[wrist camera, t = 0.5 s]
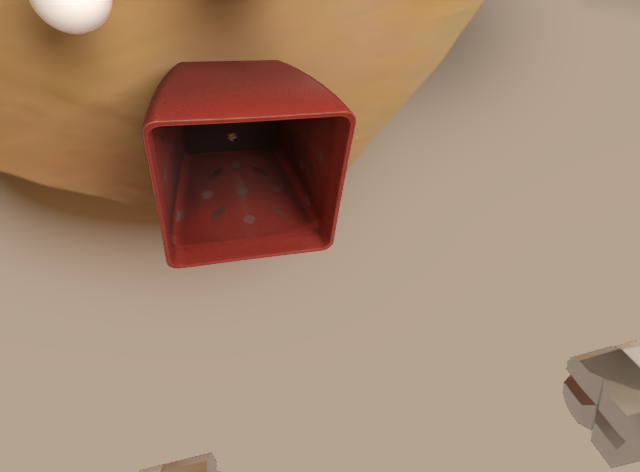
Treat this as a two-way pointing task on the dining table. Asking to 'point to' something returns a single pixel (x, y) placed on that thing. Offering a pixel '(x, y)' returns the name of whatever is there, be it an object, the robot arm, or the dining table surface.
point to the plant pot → (245, 161)
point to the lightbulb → (73, 14)
